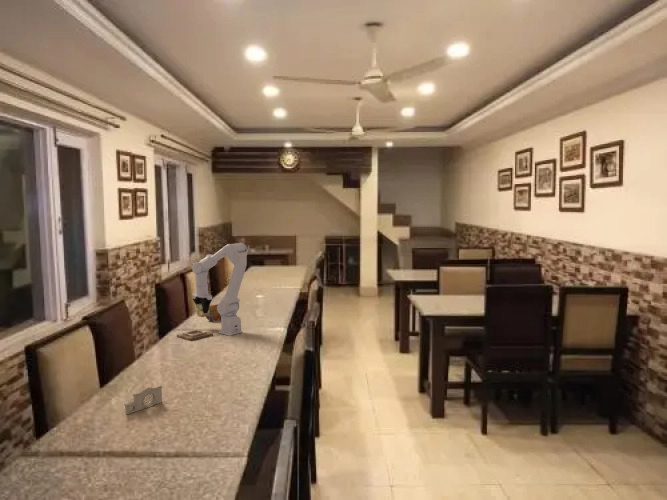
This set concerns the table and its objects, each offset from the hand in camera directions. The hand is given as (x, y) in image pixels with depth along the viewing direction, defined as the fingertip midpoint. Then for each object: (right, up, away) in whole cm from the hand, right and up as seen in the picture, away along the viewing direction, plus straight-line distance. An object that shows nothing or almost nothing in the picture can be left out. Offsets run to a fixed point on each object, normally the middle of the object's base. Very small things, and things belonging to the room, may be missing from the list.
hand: (203, 312), depth 248 cm
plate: (0, -10, -13) cm, 16 cm away
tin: (+2, -7, +22) cm, 24 cm away
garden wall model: (+7, -17, -96) cm, 98 cm away
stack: (0, -2, 0) cm, 2 cm away
